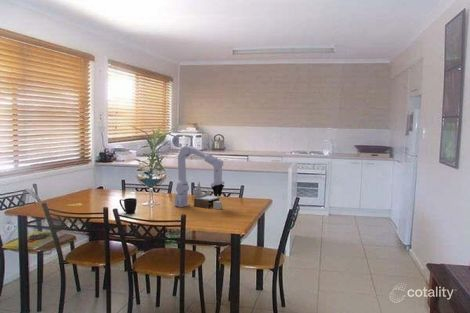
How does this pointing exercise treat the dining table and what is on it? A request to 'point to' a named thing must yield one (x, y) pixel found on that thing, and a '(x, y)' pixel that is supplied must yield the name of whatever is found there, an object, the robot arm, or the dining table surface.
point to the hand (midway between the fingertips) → (217, 195)
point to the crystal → (199, 191)
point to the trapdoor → (206, 197)
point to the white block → (217, 204)
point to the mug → (129, 205)
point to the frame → (203, 202)
